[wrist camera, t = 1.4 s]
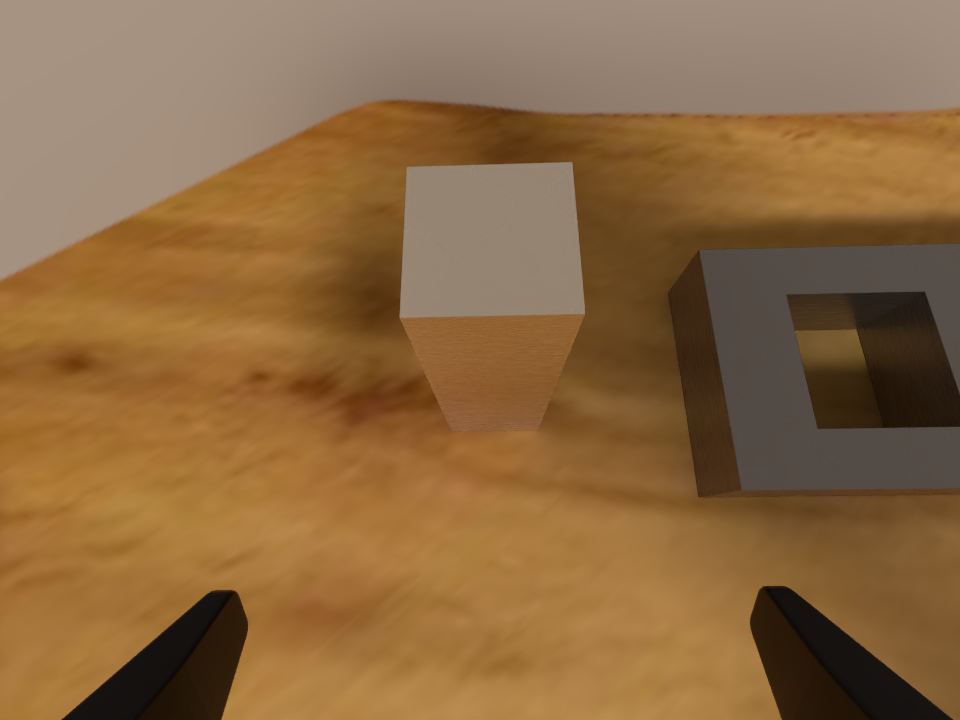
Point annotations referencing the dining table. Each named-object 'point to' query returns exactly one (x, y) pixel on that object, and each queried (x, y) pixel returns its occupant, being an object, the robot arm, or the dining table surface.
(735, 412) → the grey flat block
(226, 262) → the dining table surface
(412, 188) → the peg
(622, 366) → the dining table surface
